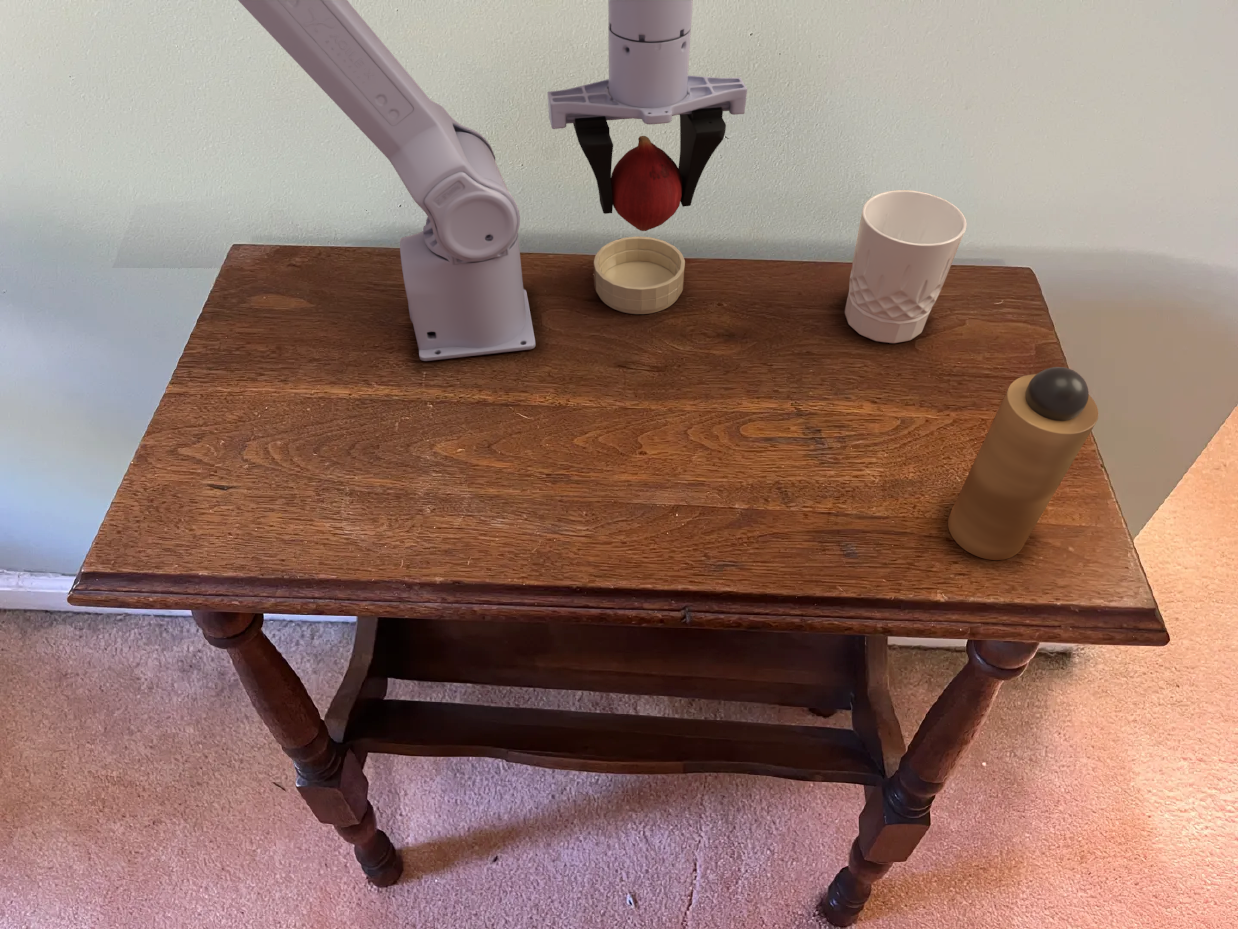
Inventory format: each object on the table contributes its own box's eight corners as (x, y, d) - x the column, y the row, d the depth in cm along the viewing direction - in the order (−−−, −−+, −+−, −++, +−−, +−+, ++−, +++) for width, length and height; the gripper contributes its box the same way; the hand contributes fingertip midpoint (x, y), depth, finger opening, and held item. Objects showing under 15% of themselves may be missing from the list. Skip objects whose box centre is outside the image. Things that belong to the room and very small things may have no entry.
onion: (681, 212, 72) (687, 121, 66) (677, 251, 68) (683, 157, 62) (613, 208, 73) (613, 117, 67) (605, 246, 69) (604, 153, 63)
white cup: (819, 306, 74) (841, 204, 67) (890, 282, 77) (919, 180, 69) (877, 359, 70) (908, 255, 62) (950, 331, 72) (988, 228, 65)
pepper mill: (967, 565, 56) (1049, 410, 45) (935, 507, 59) (1004, 350, 49) (1037, 554, 56) (1134, 399, 46) (1002, 497, 60) (1084, 340, 49)
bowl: (602, 320, 73) (602, 293, 71) (588, 267, 78) (587, 240, 76) (691, 310, 74) (694, 283, 72) (672, 258, 79) (673, 232, 77)
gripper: (552, 57, 55) (561, 239, 65) (767, 42, 57) (744, 221, 67) (540, 15, 60) (550, 191, 70) (739, 3, 61) (722, 176, 72)
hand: (644, 203), depth 69 cm, fingers closed on onion, 6 cm apart
